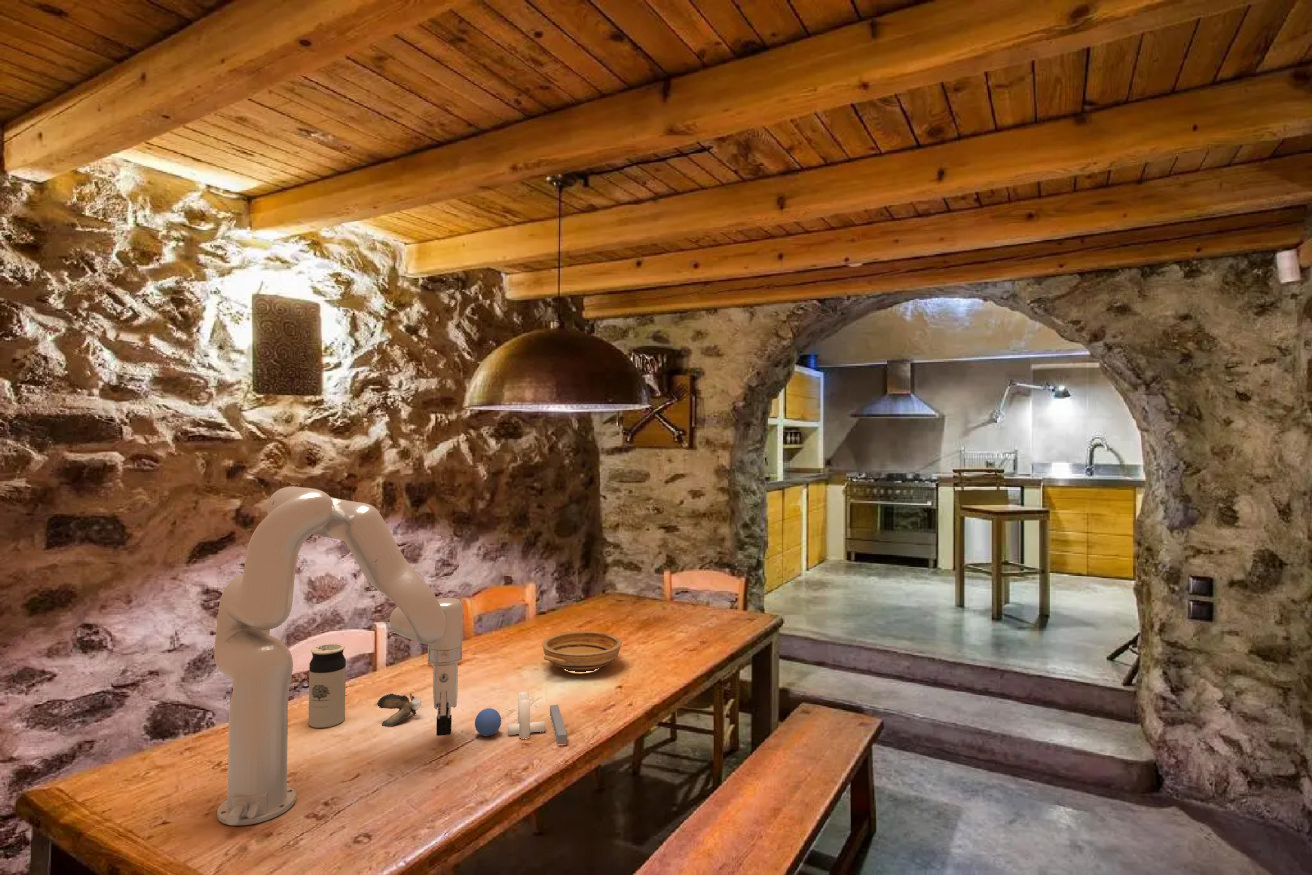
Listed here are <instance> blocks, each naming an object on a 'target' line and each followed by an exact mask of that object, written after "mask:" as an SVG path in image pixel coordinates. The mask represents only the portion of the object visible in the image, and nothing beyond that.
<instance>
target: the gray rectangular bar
mask: <svg viewBox="0 0 1312 875" xmlns="http://www.w3.org/2000/svg"><path fill="white" fill-rule="evenodd" d="M560 710H561V709H560V707H559V704H551V705H549V716H551V718H550V721H551V720H552V722H551V724H552V723H553V726H552V728H553V727H554V729H553V732H554V731H555V733H554V737H555V736H556V737H555V741H556V740H557V741H556V744H567V743H568V734H567V733H568V732H567V731H566V726H565V723H564V721H563V720H564V719H563V717H562V713H561V711H560Z"/></svg>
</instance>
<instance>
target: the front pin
mask: <svg viewBox="0 0 1312 875" xmlns="http://www.w3.org/2000/svg"><path fill="white" fill-rule="evenodd" d="M540 731H545V732H546V721H545V720H542V721H530V734H532V733H531V732H540ZM540 733H541V732H540ZM516 734H519V723H518V722H517V723H508V724H507V736H516Z"/></svg>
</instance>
